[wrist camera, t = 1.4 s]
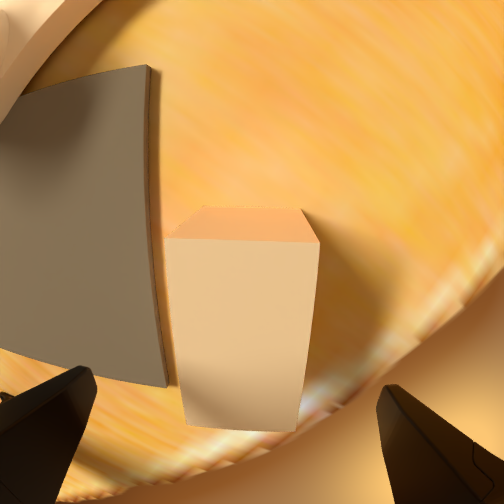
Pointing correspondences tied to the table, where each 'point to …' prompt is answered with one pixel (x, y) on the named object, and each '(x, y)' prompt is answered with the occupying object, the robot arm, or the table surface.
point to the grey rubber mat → (80, 228)
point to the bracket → (32, 39)
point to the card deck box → (242, 314)
